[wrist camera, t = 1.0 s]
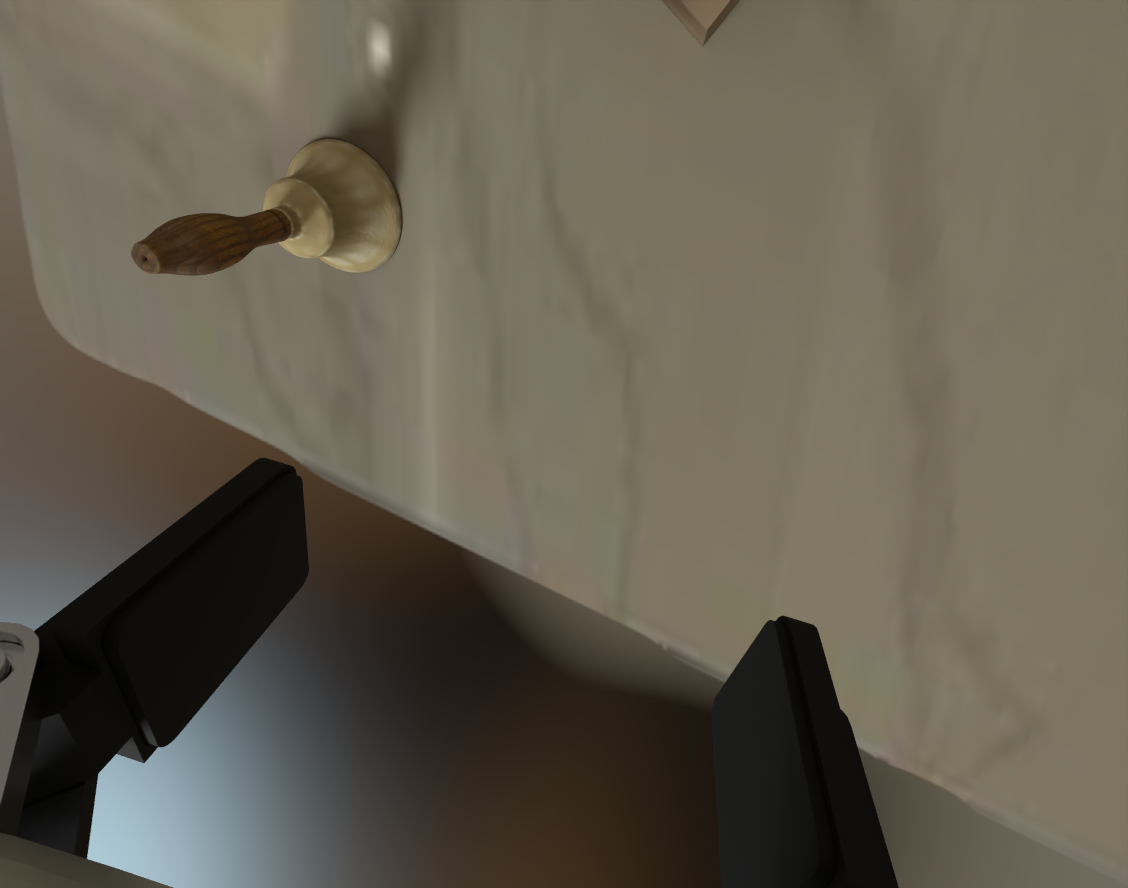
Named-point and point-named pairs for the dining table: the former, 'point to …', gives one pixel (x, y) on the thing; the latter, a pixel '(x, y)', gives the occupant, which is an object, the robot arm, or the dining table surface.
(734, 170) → the dining table surface
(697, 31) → the socket block
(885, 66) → the dining table surface
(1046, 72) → the dining table surface
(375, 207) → the hand bell
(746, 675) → the robot arm
